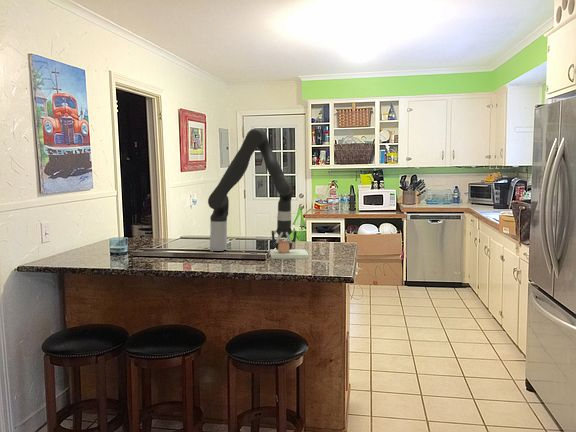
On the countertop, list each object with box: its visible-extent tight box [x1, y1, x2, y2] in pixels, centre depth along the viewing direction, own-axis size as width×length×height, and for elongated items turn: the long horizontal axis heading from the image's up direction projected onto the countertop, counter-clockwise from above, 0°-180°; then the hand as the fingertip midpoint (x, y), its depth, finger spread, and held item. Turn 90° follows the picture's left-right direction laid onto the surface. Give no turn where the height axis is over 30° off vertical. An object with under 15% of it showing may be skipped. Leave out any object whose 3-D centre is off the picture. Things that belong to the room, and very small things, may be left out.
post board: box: [269, 249, 310, 260], centre depth 262 cm, size 20×14×6 cm
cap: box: [278, 239, 290, 253], centre depth 261 cm, size 6×6×6 cm
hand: (283, 249), depth 261 cm, fingers closed on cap, 6 cm apart
